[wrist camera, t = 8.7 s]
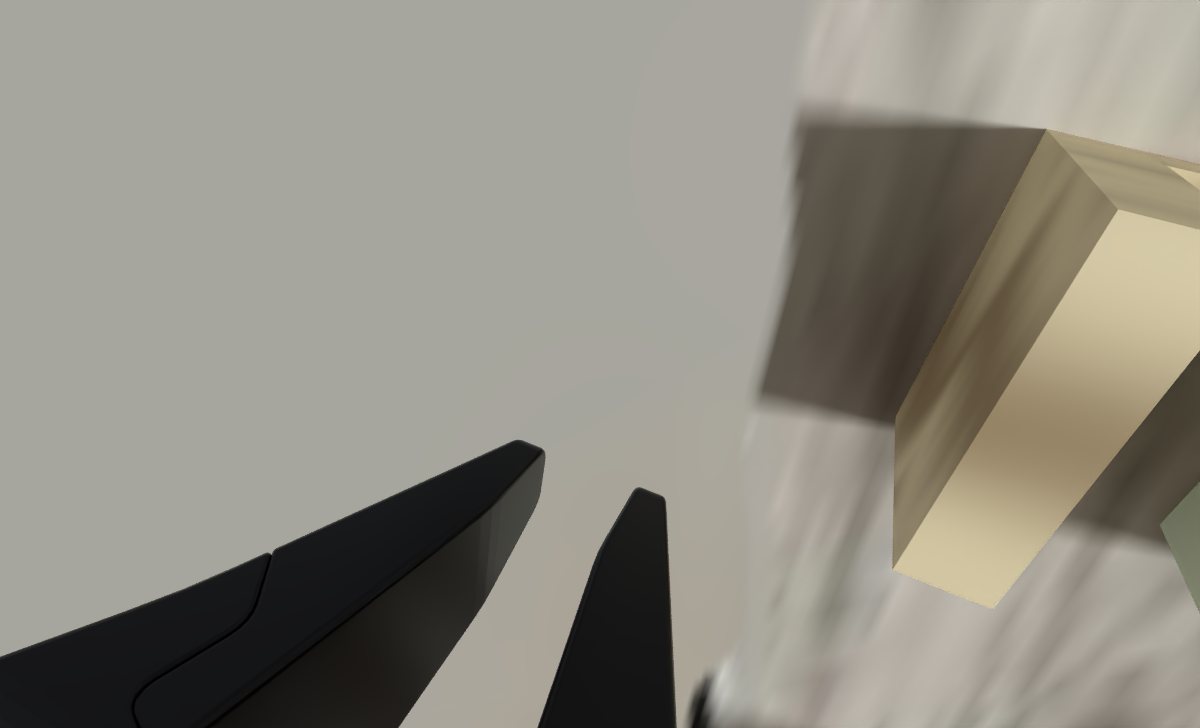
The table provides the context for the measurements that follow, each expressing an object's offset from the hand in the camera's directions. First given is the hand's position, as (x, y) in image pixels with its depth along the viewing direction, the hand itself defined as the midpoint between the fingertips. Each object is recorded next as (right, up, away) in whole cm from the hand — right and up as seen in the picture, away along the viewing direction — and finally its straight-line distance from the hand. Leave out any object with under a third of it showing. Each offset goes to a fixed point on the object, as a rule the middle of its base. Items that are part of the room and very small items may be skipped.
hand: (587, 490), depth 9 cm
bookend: (+11, +3, +7) cm, 14 cm away
